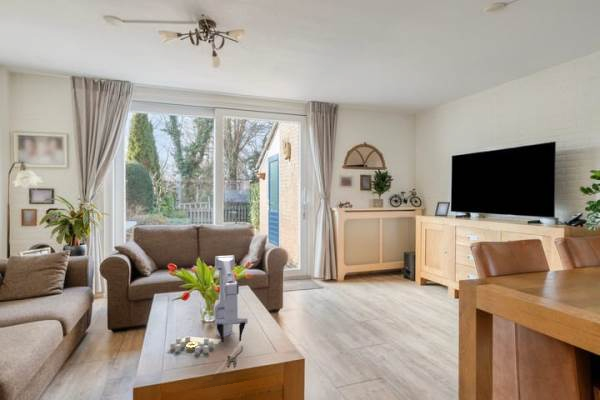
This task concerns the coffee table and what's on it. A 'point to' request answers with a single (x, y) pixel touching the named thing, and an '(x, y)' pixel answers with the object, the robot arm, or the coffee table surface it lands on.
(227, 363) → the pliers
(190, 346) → the nut
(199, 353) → the spacer board
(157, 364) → the coffee table surface
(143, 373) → the coffee table surface
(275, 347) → the coffee table surface
